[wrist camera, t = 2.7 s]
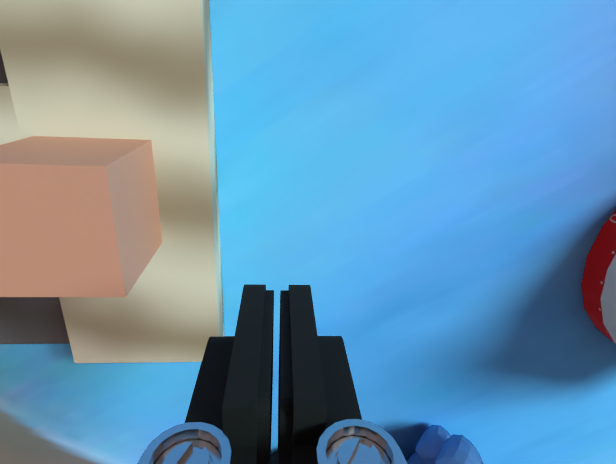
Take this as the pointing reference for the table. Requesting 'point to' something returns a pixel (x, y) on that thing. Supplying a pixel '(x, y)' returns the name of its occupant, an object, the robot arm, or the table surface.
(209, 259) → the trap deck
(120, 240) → the block
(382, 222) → the table surface
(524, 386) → the table surface
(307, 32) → the table surface
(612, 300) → the kitchen timer
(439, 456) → the grapes
